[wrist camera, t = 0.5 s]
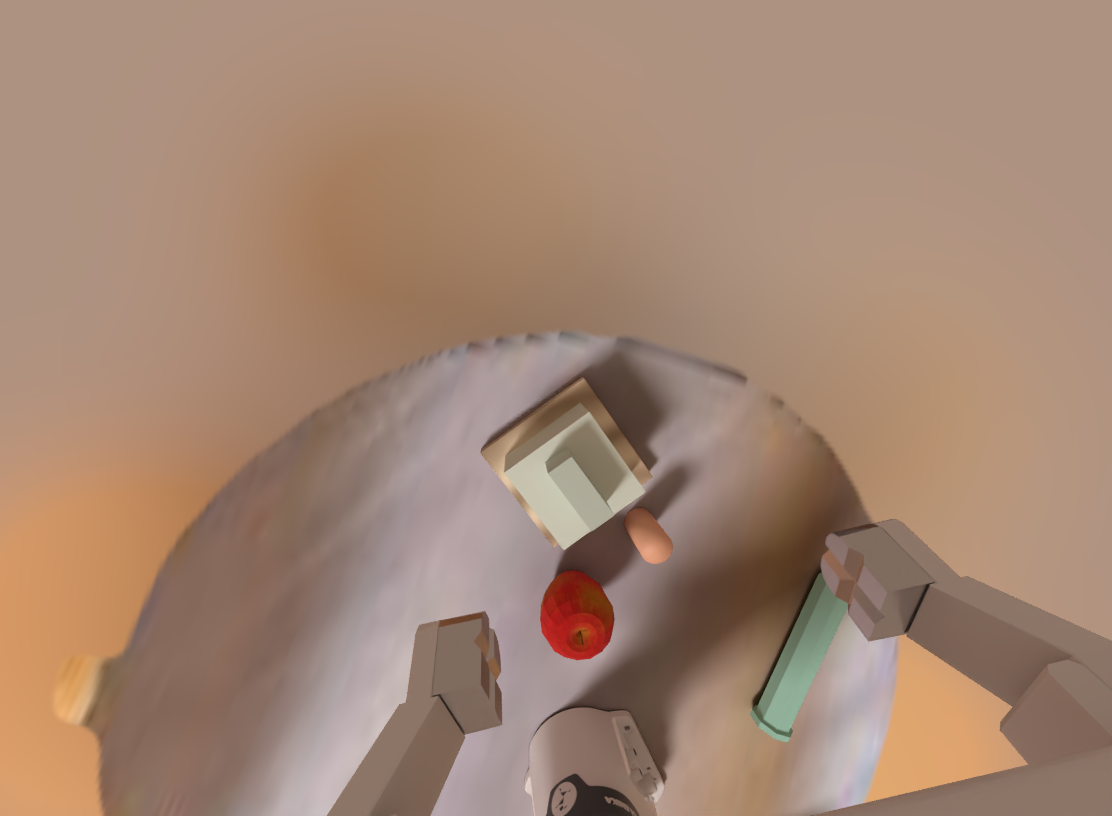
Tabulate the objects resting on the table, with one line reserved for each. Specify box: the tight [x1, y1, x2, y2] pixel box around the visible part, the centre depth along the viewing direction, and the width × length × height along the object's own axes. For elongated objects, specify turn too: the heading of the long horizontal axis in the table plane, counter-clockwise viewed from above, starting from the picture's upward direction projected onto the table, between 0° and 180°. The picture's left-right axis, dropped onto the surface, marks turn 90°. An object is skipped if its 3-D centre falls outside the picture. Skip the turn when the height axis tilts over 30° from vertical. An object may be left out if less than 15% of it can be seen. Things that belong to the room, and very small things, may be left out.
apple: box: [540, 570, 614, 660], centre depth 57 cm, size 9×9×12 cm
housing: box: [504, 403, 645, 550], centre depth 53 cm, size 12×12×11 cm
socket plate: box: [480, 377, 653, 547], centre depth 58 cm, size 16×16×4 cm
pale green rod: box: [750, 572, 848, 743], centre depth 66 cm, size 6×6×25 cm
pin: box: [624, 508, 673, 564], centre depth 58 cm, size 4×4×8 cm
